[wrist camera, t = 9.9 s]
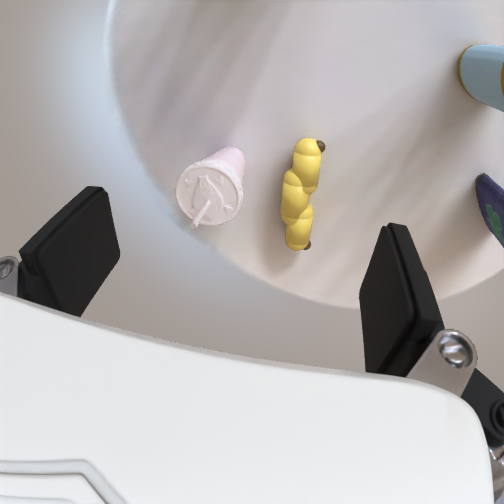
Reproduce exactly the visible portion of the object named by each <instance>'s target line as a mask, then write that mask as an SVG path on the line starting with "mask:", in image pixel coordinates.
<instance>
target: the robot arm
mask: <svg viewBox="0 0 504 504" xmlns="http://www.w3.org/2000/svg"><path fill="white" fill-rule="evenodd" d="M19 253H20V256H21V258H22V261H21V262H20V263H19V262H18V260H17V258H16V257H13V256H6V257H2V258H0V504H504V393H503V392H502V391H501V390H500V389H499V388H498V387H497V386H496V385H494V384H493V383H492V382H491V381H490V380H489V379H488V378H487V377H485V376H484V375H483V374H482V373H481V372H480V371H479V370H477V369H476V368H475V366H476V363H477V359H478V357H477V352H476V349H475V346H474V344H473V343H472V341H471V340H470V339H469V338H468V337H467V336H466V335H464V334H463V333H461V332H460V331H457V330H454V329H445V327H444V324H443V321H442V317H441V314H440V311H439V308H438V305H437V302H436V299H435V296H434V293H433V290H432V287H431V284H430V281H429V278H428V276H427V273H426V271H425V270H424V268H423V266H422V263H421V260H420V258H419V255H418V253H417V250H416V248H415V245H414V243H413V240H412V238H411V235H410V233H409V231H408V228H407V226H405V225H400V224H395V223H389V224H388V225H387V227H386V226H383V227H382V228H381V231H380V234H379V237H378V240H377V243H376V246H375V249H374V252H373V255H372V258H371V260H370V263H369V266H368V269H367V272H366V274H365V277H364V280H363V283H362V285H361V288H360V293H359V301H360V310H361V319H362V330H363V341H364V355H365V369H366V372H358V371H349V370H340V369H331V368H323V367H315V366H308V365H300V364H293V363H286V362H279V361H272V360H265V359H259V358H253V357H247V356H241V355H236V354H230V353H225V352H220V351H215V350H209V349H204V348H200V347H195V346H189V345H185V344H181V343H176V342H171V341H167V340H163V339H159V338H155V337H150V336H146V335H142V334H138V333H134V332H130V331H126V330H123V329H119V328H115V327H112V326H108V325H105V324H101V323H97V322H94V321H90V320H87V319H84V318H80V317H81V315H82V314H83V312H84V311H85V309H86V307H87V306H88V304H89V303H90V301H91V299H92V298H93V297H94V295H95V294H96V292H97V291H98V289H99V288H100V286H101V285H102V283H103V282H104V280H105V279H106V278H107V276H108V275H109V273H110V272H111V270H112V269H113V268H114V266H115V265H116V263H117V262H118V260H119V258H120V249H119V245H118V240H117V236H116V232H115V227H114V222H113V218H112V212H111V207H110V202H109V197H108V193H107V192H106V191H105V190H104V189H103V188H102V187H95V186H88V187H86V188H85V189H84V190H82V191H81V192H80V193H79V194H78V195H77V196H76V197H74V198H73V199H72V200H71V201H70V202H69V203H68V204H67V205H65V206H64V207H63V208H62V209H61V210H60V211H59V212H58V213H57V214H55V215H54V216H53V217H52V218H51V219H50V220H49V221H48V222H47V223H46V224H45V225H44V226H43V227H42V228H41V229H40V230H39V231H38V232H37V233H36V234H35V235H34V236H33V237H32V238H31V239H30V240H29V241H28V242H27V243H26V244H25V245H24V246H23V247H22V248H21V249H20V250H19Z"/></svg>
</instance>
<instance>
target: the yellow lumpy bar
mask: <svg viewBox="0 0 504 504" xmlns="http://www.w3.org/2000/svg"><path fill="white" fill-rule="evenodd" d="M324 150H325V144H324V143H323V142H322V141H319V140H318V141H316V140H314V139H311V138H304V139H301V140H300V141H298V142H297V144H296V145H295V147H294V155H293V166H292V168H291V169H289V170H288V171H287V172H286V173H285V175H284V177H283V186H282V198H281V209H280V215H281V218H282V220H283V221H284V222H285V223H286V224H287V225H286V234H285V241H286V244H287V246H288V247H289V248H290V249H292V250H295V251H300V250H308V249H309V248H310V247H311V242H310V241H309V239H310V233H311V226H312V220H313V209H312V207H311V205H310V204H309V199H310V194H311V193H313V192H314V191H315V190H316V188H317V185H318V178H319V171H320V163H321V156H322V152H323V151H324Z"/></svg>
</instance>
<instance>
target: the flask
mask: <svg viewBox="0 0 504 504" xmlns="http://www.w3.org/2000/svg"><path fill="white" fill-rule="evenodd" d="M476 193H477V198H478V203H479V207H480V209H481V212H482V215H483V217H484V220H485V222H486V225H487V226H488V228H489V230H490V231H491V232H492V233H493V234H494V235H495V237H496V238H497V240H498V241H499V242H500V243H501V245H502V246H503V247H504V190H503V189H502V188H501V187H500V186H499V185H498V184H496V183H495V182H494V181H493V180H492V179H491V178H490V177H489V176H488V175H486V174H485V173H483V174H481V175H479V176H478V177H477V178H476Z"/></svg>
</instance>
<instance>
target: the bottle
mask: <svg viewBox="0 0 504 504" xmlns="http://www.w3.org/2000/svg"><path fill="white" fill-rule="evenodd" d="M458 73H459V77H460V81H461V83H462V85H463V87H464V89H465V90H466V92H467V93H468V94H469V95H470V96H471V97H472V98H474V99H476V100H478V101H480V102H482V103H484V104H487V105H489V106H491V107H494V108H496V109H498V110H500V111H503V112H504V46H495V45H482V44H479V45H478V44H477V45H471V46H469V47H468V48H466V49H465V50H464V51H463V53H462V54H461V56H460V59H459V63H458Z"/></svg>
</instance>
